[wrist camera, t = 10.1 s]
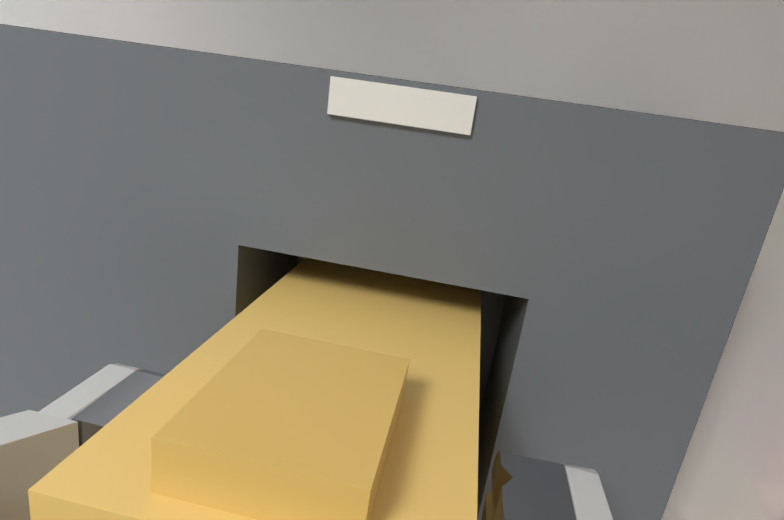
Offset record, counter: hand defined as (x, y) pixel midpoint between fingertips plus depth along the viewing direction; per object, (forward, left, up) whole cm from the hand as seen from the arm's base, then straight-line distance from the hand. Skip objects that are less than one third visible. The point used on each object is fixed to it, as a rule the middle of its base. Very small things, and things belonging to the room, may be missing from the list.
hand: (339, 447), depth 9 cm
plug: (0, 0, -5) cm, 5 cm away
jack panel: (0, -6, -6) cm, 8 cm away
